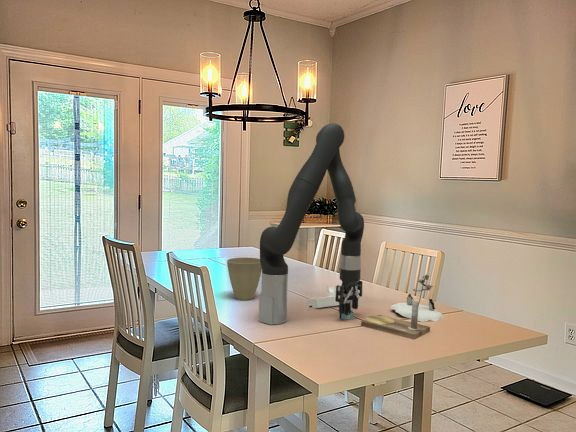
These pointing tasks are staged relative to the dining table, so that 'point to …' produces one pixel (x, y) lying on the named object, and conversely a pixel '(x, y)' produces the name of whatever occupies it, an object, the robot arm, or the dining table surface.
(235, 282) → the plant pot
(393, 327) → the gauge board
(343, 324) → the dining table surface
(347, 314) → the push button
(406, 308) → the figurine
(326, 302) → the bracket
